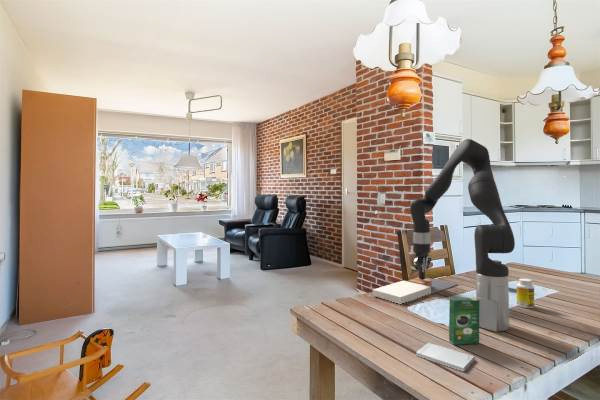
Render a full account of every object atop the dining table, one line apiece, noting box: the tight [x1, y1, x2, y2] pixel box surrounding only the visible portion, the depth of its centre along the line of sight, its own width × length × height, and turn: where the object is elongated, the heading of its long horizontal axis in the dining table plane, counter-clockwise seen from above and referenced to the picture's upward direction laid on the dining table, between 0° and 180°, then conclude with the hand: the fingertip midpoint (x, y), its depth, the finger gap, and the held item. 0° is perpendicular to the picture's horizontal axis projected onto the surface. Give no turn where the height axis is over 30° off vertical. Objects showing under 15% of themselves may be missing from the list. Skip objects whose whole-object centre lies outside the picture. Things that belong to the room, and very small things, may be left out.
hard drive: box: [415, 342, 476, 372], centre depth 89 cm, size 2×8×12 cm
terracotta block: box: [407, 277, 432, 287], centre depth 154 cm, size 8×7×3 cm
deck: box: [372, 280, 432, 305], centre depth 144 cm, size 22×14×3 cm, turn 128°
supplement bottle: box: [516, 278, 535, 309], centre depth 127 cm, size 6×6×10 cm
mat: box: [425, 277, 459, 295], centre depth 157 cm, size 22×16×1 cm
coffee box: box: [448, 297, 480, 346], centre depth 98 cm, size 8×3×13 cm, turn 93°
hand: (422, 279), depth 153 cm, fingers closed
